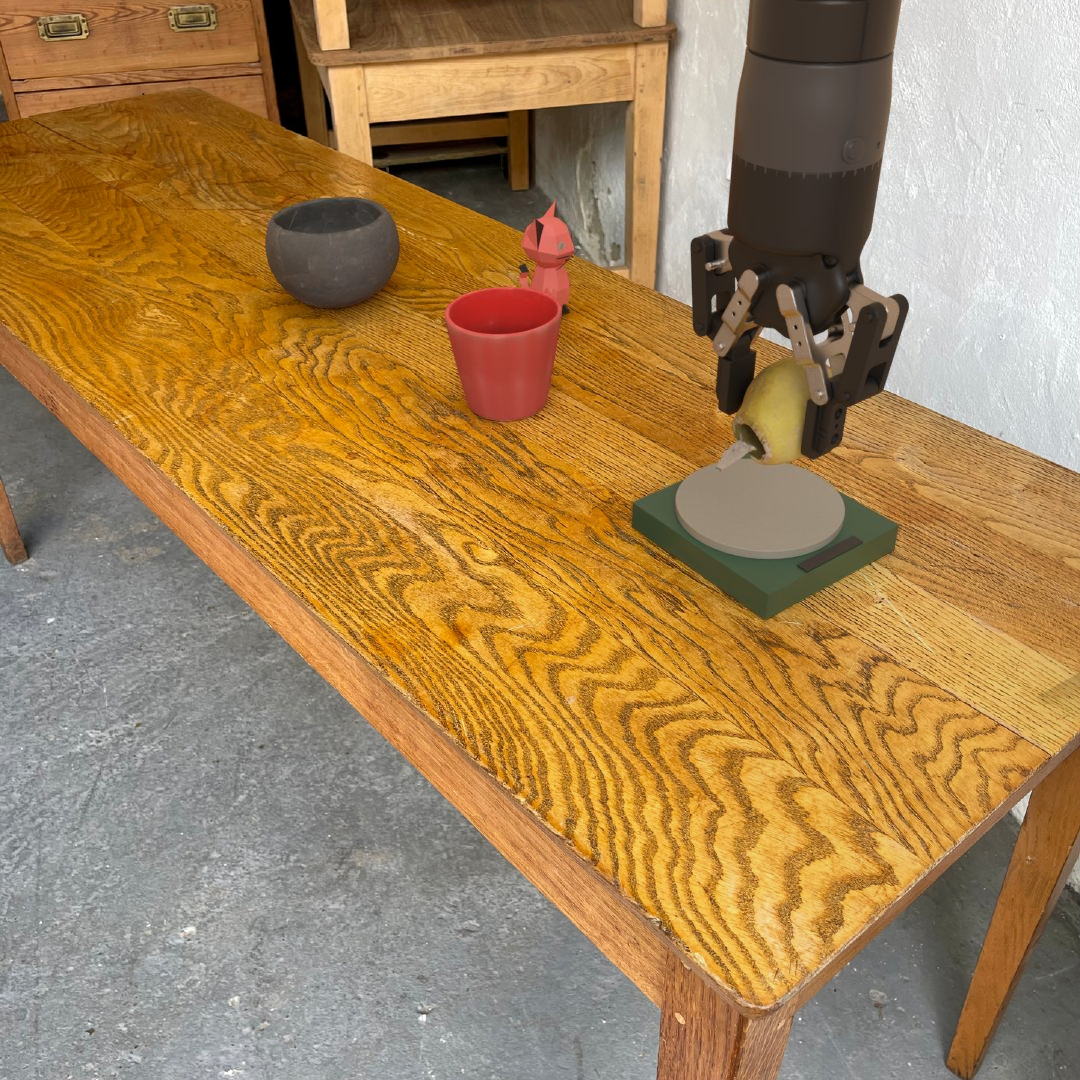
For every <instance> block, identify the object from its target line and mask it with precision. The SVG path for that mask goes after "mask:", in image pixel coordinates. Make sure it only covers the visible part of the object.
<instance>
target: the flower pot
mask: <svg viewBox="0 0 1080 1080" xmlns="http://www.w3.org/2000/svg"><path fill="white" fill-rule="evenodd" d="M562 315H563V314H562V308H561V305H560V303H559V302H558V301H557V300H556V299H555V298H554V297H552V296H550V295H549V294H546V293H544V292H541V291H537V290H533V289H527V288H523V287H516V286H498V287H488V288H482V289H476V290H474V291H473V290H472V291H470V292H467V293H465V294H462V295H460V296H458V297H456V298H455V299H454V300H452V301H451V302H450V303H449V304H448V305H447V306H446V307H445V309H444V322H445V325H446V331H447V334H448V335H447V336H448V338H449V339H448V340H449V342H450V348H451V351H452V355H453V358H454V363H455V366H456V370H457V373H458V377H459V380H460V385H461V387H462V390H463V394H464V397H465V401H466V404H467V407H468V408H469V410H470V411H471V412H472V413H474V414H476V415H477V416H479V417H480V418H483V419H486V420H489V421H495V422H497V421H498V422H513V421H519V420H524V419H527V418H530V417H532V416H535V415H536V414H538V413H540V412H541V411H542V410H543V409H544V408H545V406H546V404H547V402H548V398H549V392H550V387H551V381H552V378H553V377H552V376H553V371H554V366H555V360H556V354H557V347H558V342H559V336H560V329H561V323H562Z"/></svg>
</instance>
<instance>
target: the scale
mask: <svg viewBox="0 0 1080 1080" xmlns="http://www.w3.org/2000/svg"><path fill="white" fill-rule="evenodd" d="M718 463H719V461H717V462H715V463H714V462H713V463H711V464H707V465H706V466H702V467H701V468H699V469H697V470H695V471H693V472H692V473H690V474H689V475H688V476H686V477H685V478H684V479H683V478H682V480H679V481H677V482H675V483H672V484H670V485H668V486H665V487H663V488H661V489H659V490H656V491H654V492H651V493H650V494H647V495H645V496H643V497H640V498H638V499H636V500H634V501H632V502H631V504H632V505H631V527H632V528H633V529H635V530H636V531H638V532H639V533H640V534H641V535H643V536H645V537H646V538H647V539H649V540H650V541H652V542H653V543H654V544H656V545H657V546H659V547H660V548H661V549H663V550H664V551H666V552H667V553H669V554H670V555H672V556H673V557H674V558H676V559H677V560H678V561H680V562H681V563H683V565H686V566H687V567H688V568H690V569H691V570H693V571H694V572H696V573H697V574H698V575H700V576H701V577H703V578H704V579H706V580H707V581H709V582H710V583H711V584H713V585H714V586H716V587H717V588H718V589H719V590H721V591H723V592H724V593H726V594H727V595H728V596H729V597H731V598H732V599H734V600H735V601H737V602H738V603H739V604H741V605H742V606H744V607H745V608H746V609H748V610H749V611H751V612H752V613H754V614H755V615H756V616H758V617H760V619H762V620H764V621H767V620H769V619H770V618H773V617H775V616H776V615H778V614H780V613H782V612H783V611H785V610H787V609H789V608H791V607H793V606H794V605H796V604H798V603H800V602H801V601H804V600H806V599H807V598H810V597H811V596H813V595H814V594H817V593H818V592H820V591H822V590H824V589H825V588H828V587H829V586H831V585H833V584H835V583H836V582H839V581H840V580H842V579H844V578H847V577H848V576H850V575H851V574H853V573H855V572H857V571H859V570H861V569H862V568H864V567H866V566H868V565H870V564H871V563H873V562H875V561H877V560H879V559H880V558H883V557H884V556H886V555H889V554H890V553H892V552H893V551H894V552H895V549H896V543H897V539H898V533H899V529H900V524H898V523H896V522H895V521H893V520H891V519H890V518H888V517H886V516H884V515H882V514H881V513H879V512H877V511H875V510H873V509H871V508H870V507H868V506H866V505H864V504H863V503H862V502H859V501H857V500H855V499H854V498H852V497H850V496H848V495H847V494H845V493H843V492H841V491H839V490H837V489H836V487H835V486H833V485H832V484H831V483H830V482H829V481H827V480H826V479H825V478H824V477H821V476H820V475H819V474H817V473H815V472H813V471H811V470H809V469H807V468H804V467H801V466H798V465H795V464H792V463H790V462H787V463H783V464H778V465H762V464H759V463H757V462H755V461H754V460H753V459H752V458H751V457H750V455H749V454H748V453H746V454H745V455H744V456H743V457H742V458H741V459H740V460H738V461H737V462H735V463H734V464H733V465H731V466H730V467H728V468H726V469H724V470H723V471H721V472H720V471H719V470H717V469H716V466H717V464H718Z"/></svg>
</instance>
